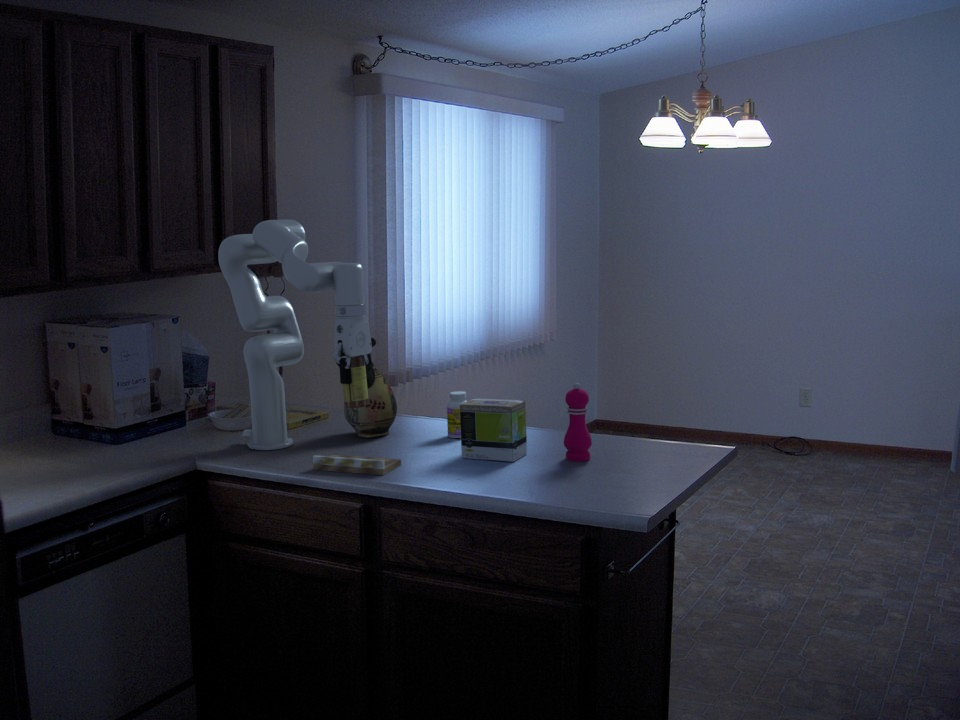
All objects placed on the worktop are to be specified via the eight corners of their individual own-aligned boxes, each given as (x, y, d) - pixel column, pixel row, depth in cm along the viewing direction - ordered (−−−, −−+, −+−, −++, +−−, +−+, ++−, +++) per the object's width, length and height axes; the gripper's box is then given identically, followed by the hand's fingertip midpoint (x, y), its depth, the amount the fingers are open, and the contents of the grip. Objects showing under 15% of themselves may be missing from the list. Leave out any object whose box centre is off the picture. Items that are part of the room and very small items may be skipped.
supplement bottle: (443, 437, 288) (441, 393, 286) (457, 433, 293) (455, 389, 291) (461, 440, 284) (459, 395, 282) (475, 435, 289) (474, 391, 287)
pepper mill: (560, 461, 257) (559, 384, 254) (568, 454, 264) (566, 379, 261) (588, 463, 255) (587, 385, 252) (594, 456, 261) (593, 380, 258)
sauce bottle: (372, 404, 260) (368, 328, 257) (361, 409, 254) (357, 331, 251) (349, 403, 262) (345, 328, 259) (338, 408, 256) (334, 331, 253)
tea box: (527, 454, 266) (526, 399, 264) (513, 463, 257) (511, 406, 255) (476, 450, 272) (474, 396, 270) (460, 458, 263) (458, 403, 261)
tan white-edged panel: (313, 469, 256) (312, 456, 256) (333, 460, 266) (332, 447, 265) (383, 475, 249) (382, 461, 248) (401, 465, 258) (400, 451, 258)
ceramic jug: (352, 428, 303) (348, 330, 299) (402, 429, 301) (398, 329, 296) (337, 442, 286) (331, 338, 282) (390, 442, 284) (385, 337, 280)
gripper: (341, 315, 245) (345, 387, 248) (382, 308, 260) (385, 376, 263) (317, 315, 249) (321, 386, 251) (358, 308, 264) (362, 375, 266)
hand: (354, 380), depth 257 cm, fingers closed on sauce bottle, 6 cm apart
